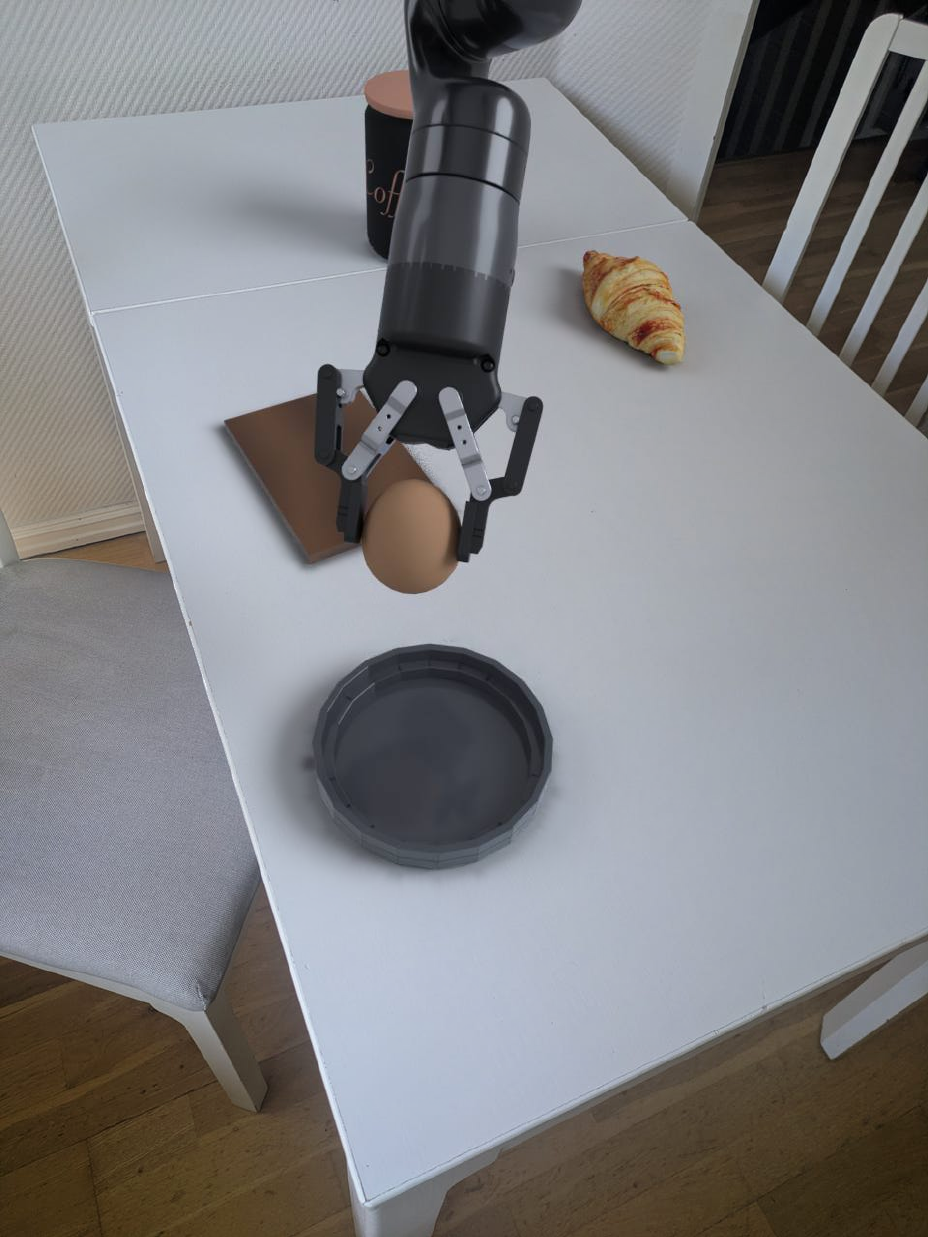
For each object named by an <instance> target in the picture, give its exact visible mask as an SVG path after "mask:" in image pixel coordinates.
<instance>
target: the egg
mask: <svg viewBox="0 0 928 1237" xmlns="http://www.w3.org/2000/svg"><path fill="white" fill-rule="evenodd" d="M432 483H433V482H432ZM432 483H429V482H426V481H423V480H418V479H408V480H402V481H398V482H396V483H394V484H392V485H391V486H389V487H388V488H386V489H385V490H383V491H382V492H381V493H380V494H379V495H378V497H377V498H376V499H375V500H374V502H373V503H372V505H371V506H370V508H369V510H368V512H367V514H366V516H365V519H364V523H363V528H362V545H361V551H362V555H363V558H364V562H365V564H366V566H367V568H368V569H369V571H370V572H371V574H372V575H373V577H375V578H376V580H377V581H378V582H379V583H381V584H382V585H384V586H385V587H387V588H388V589H390V590H392V591H395V592H397V593H400V594H406V595H418V594H424V593H428V592H430V591H433V590H435V589H437V588H439V587H440V586H441V585H443V584H444V583H446V581H448V579H449V578H450V577H451V575H452V574H453V573H454V572H455V570H456V569H457V567H458V565H459V561H457V553H458V547H459V541H460V534H461V528H462V522H461V517H460V515H459V512H458V511H457V509H456V507H455V506H454V504H453V502H452V501H451V499H450V498H449V497H448V496H447V494H446V493H445V492H444V490H442V489H441V488H439V487H438V486H437V485H435V484H434V483H433V484H434V485H433V484H432Z"/></svg>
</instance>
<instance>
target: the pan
mask: <svg viewBox="0 0 928 1237" xmlns="http://www.w3.org/2000/svg"><path fill="white" fill-rule="evenodd" d="M311 742H312V751H313V759H314V760H313V761H314V767H315V768H314V769H315V775H316V782H317V783H316V784H317V790H318V794H319V796H320V798H321V800H322V801H323V803H324V805H325V807H326V809H327V811H328V813H329V815H330V816H331V819H332V820H333V822H334V823H335V824H336V825H337V827H339V829H341V830H342V831H343V832H344V833H345V834H346V835H347V836H349V838H351V839H352V841H354V842H355V843H356V844H357V845H358V846H360V848H362V849H363V850H366V851H367V852H370V853H371V854H375V855H376V856H379V857H381V858H383V859H385V860H387V861H391V862H392V863H394V864H398V865H401V866H409V867H418V868H426V869H427V868H428V869H435V870H436V869H437V870H440V869H441V870H442V869H445V868H450V867H452V868H453V867H457V866H462V865H468V864H474V863H476V862H479V861H481V860H483V859H485V858H486V857H488V856H490V855H492V854H494V853H496V852H498V851H500V850H501V849H503V848H505V847H507V846H508V845H511V843H512V842H513V841H514V840H515V839H516V838H517V837H518V836H519V835H520V833H522V832H523V830H524V829H525V828H527V826H528V825H529V824H530V823H531V822H532V821H533V820H534V819H535V816H536V814H537V812H538V809H539V807H540V806H541V803H542V800H543V798H544V795H545V793H546V790H547V788H548V785H549V784H548V783H549V780H550V777H551V775H552V771H553V770H552V769H553V747H554V737H553V734H552V730H551V727H550V724H549V721H548V718H547V715H546V712H545V708H544V707H543V705H542V703H541V702H540V701H539V699H538V698H537V696H536V695H535V694H534V692H533V691H532V690H531V688H530V687H529V686H528V684H527V682H525V680H524V679H522V678H521V677H520V676H519V675H517V674H516V673H514V672H513V671H512V670H510V669H509V668H508V667H506V666H505V665H504V664H502V663H501V661H498V660H497V659H495V658H492V657H490V656H487V655H484V654H482V653H479V652H477V651H474V650H472V649H469V648H467V647H462V646H454V645H446V644H439V643H437V644H436V643H423V644H416V645H408V646H400V647H395V648H392V649H389V650H387V651H385V652H383V653H380V654H378V655H375V656H373V657H371V658H368V659H366V660H364V661H363V662H361V663H360V664H359V665H358V666H357V667H355V668H354V669H352V670H351V671H350V672H349V673H347V674H346V675H345V676H344V677H343V678H341V679H340V680H339V681H338V682H337V683H336V684H335V686H334V688H333V689H332V690H331V692H330V694H329V696H328V697H327V698H326V700H325V702H324V703H323V704H322V706H321V708H320V709H319V711H318V716H317V720H316V725H315V729H314V732H313V737H312V741H311Z"/></svg>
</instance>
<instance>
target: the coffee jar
mask: <svg viewBox="0 0 928 1237" xmlns="http://www.w3.org/2000/svg"><path fill="white" fill-rule="evenodd" d="M363 91H364V97H365V102H366V103H367V105H366V108H365V110H364V144H365V145H364V150H365V151H364V152H365V157H364V158H365V198H366V200H365V202H366V205H365V206H366V235H367V239H368V243H369V244H370V246H371V247H372V249H373V250H374V251H375V253H377V255H378V256H379V257H381V258H383V259H384V260H386V261H388V257H389V250H390V243H391V236H392V230H393V224H394V220H395V216H396V212H397V209H398V206H399V202H400V198H401V194H402V189H403V186H404V185H403V182H404V176H405V169H406V162H407V155H408V148H409V141H410V135H411V130H412V125H413V106H412V97H411V90H410V82H409V70H408V69H401V70H400V69H398V70H391V71H386V72H383V73H379V74H376V75H374V76H373V77H371V78H369V79H368V80H367V81H366V83H365V85H364V87H363Z"/></svg>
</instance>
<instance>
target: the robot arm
mask: <svg viewBox="0 0 928 1237" xmlns="http://www.w3.org/2000/svg"><path fill="white" fill-rule="evenodd" d="M582 4H583V0H403V23H404V34H405V44H406V46H405V47H406V56H407V67H408V69H407V70H409V82H410V90H411V97H412V106H413V125H412V130H411V135H410V141H409V148H408V155H407V162H406V169H405V176H404V182H403V185H404V186H403V189H402V194H401V198H400V202H399V206H398V209H397V212H396V216H395V220H394V224H393V230H392V236H391V243H390V250H389V257H388V260H387V265H386V272H385V278H384V285H383V293H382V298H381V299H382V300H381V307H380V314H379V320H378V328H377V334H376V341H375V346H374V347H375V349H374V352H373V356H372V358H371V360H370V361H369V363H368V364H367V365H366V366H365V368H364V370H363V369H348V368H347V369H346V368H336V367H335V366H334V365H333V364H330V363H324V364H322V365H321V366H320V367H319V368H318V370H317V378H316V379H317V380H316V393H317V401H316V425H315V449H314V456H315V459H316V461H317V462H318V463H319V464H322V465H324V466H326V467H328V468H329V469H331V470H333V471H335V472H336V473H337V474H338V475H339V476H340V479H341V490H340V497H339V504H338V511H337V518H336V526H337V530H338V532H345V533H344V542H346V543H352V544H359V543H360V541H361V537H362V528H363V523H364V516H365V509H366V502H367V496H368V489H369V485H366V484H365V482H366V478H367V476H368V475H369V474H370V472H371V471H372V470H373V468H374V467H375V466H376V464H377V463H378V461H379V460H380V459H381V457H382V456H383V455H385V454H386V452H387V451H388V450H389V449H390V447H391V446H392V445H393V443H394V442H395V440H397V441H399V442H400V443H402V444H404V445H411V446H417V445H427V446H428V445H429V446H431V447H432V448H435V449H436V450H443V451H449V452H451V450H454V449H455V450H456V453H457V455H458V459H459V461H460V465H461V468H462V470H463V472H464V475H465V478H466V481H467V484H468V487H469V490H470V493H469V500H465V503H464V509H463V516H462V522H461V525H462V528H461V534H460V541H459V547H458V553H457V561H459V562H460V563H466V564H468V563H470V560H471V555H479V554H480V552H481V550H482V549H483V547H484V542H485V536H486V529H487V524H488V523H487V522H488V517H489V510H490V507H491V505H492V503H494V502H495V501H496V500H500V499H503V498H509V497H516V496H518V495H520V494H521V493H522V491H523V487H524V483H525V480H526V475H527V472H528V469H529V465H530V461H531V458H532V454H533V450H534V446H535V443H536V438H537V436H538V432H539V427H540V424H541V420H542V417H543V412H544V402H543V400H542V399H541V398H540V397H538V396H535V395H531V396H529V397H524V396H521V395H517V394H513V393H510V392H506V391H502V387H501V384H500V382H499V377H498V376H499V375H498V374H499V368H500V360H501V356H502V355H501V354H502V348H503V342H504V336H505V329H506V323H507V315H508V310H509V304H510V298H511V297H510V296H511V292H512V287H513V284H514V281H515V277H516V269H515V265H516V261H517V260H516V259H517V254H518V253H517V252H518V246H519V245H518V244H519V216H520V210H521V208H520V206H521V199H522V194H523V189H524V182H525V177H526V176H525V175H526V170H527V162H528V157H529V152H530V144H531V132H532V130H531V129H532V118H531V113H530V110H529V107H528V104H527V103H526V102H525V100H524V99H523V98H522V96H521V95H520V94H519V93H518V92H517V91H515V90H513V89H512V88H511V87H509V86H507V85H505V84H504V83H501V82H498V81H495V80H492V79H489V73H490V69H491V64H492V62H493V59H495V58H498V57H501V56H505V55H508V54H512V53H514V52H518V51H522V50H525V49H528V48H531V47H534V46H537V45H541V44H544V43H546V42H548V41H550V40H552V39H554V38H556V37H557V36H559V35H560V34H562V33H563V32H564V31H565V30H566V29H568V28H569V26H570V25H571V24H572V22H573V21H574V20H575V18H576V17H577V14H578V13H579V10H580V9H581V6H582ZM361 389H364V390H365V392H366V393H367V396H368V398H369V400H370V402H371V405H372V406H373V408H374V409H375V410H376V412H377V414H378V415H377V416H376V417H375V419H374V420H373V422H372V423H371V424H370V426H369V427H368V428H367V430H366V431H365V433H364V434H363V435H362V437H361V440H360V442H359V444H358V445H357V446H356V448H355V449H354V450H353V452H352V453H351V455H350V456H348V455H346V454H344V453H343V452H342V444H343V421H344V406H347V405H350V404H351V403H352V402H353V401H354V399H355V395H356V393H357V391H358V390H361ZM498 409H500V410H501V411H503V412H504V414H505V424H506V427H507V429H508V431H510V432H512V433H515V434H514V438H513V442H512V445H511V449H510V453H509V457H508V461H507V465H506V469H505V473H504V476H500V477H499V476H498V477H495V478H489V475H488V472H487V469H486V466H485V464H484V460H483V457H482V455H481V450H480V448H479V445H478V443H477V440H476V437H475V434H476V432H478V430H479V429H481V427H482V426H483V425H484V424H485V423H487V421H488V420H489V419H490V418H491V417H492V416H493V415H494V414H495V413H496V412H497V411H498ZM459 562H458V563H459Z"/></svg>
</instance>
